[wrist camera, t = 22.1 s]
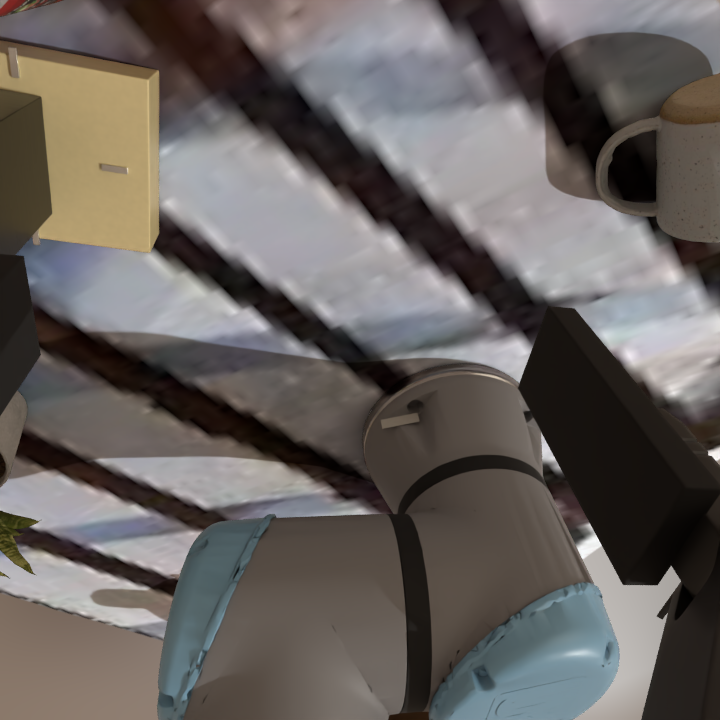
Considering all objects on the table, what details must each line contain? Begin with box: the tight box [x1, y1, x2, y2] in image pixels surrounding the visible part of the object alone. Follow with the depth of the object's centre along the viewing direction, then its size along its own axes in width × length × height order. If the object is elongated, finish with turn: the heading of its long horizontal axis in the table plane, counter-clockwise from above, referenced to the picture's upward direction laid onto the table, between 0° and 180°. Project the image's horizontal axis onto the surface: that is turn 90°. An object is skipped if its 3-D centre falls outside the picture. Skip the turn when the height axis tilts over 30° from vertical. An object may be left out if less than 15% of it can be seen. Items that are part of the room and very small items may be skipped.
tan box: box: [0, 40, 159, 253], centre depth 33 cm, size 13×11×3 cm
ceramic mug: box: [596, 73, 720, 242], centre depth 35 cm, size 11×8×8 cm
